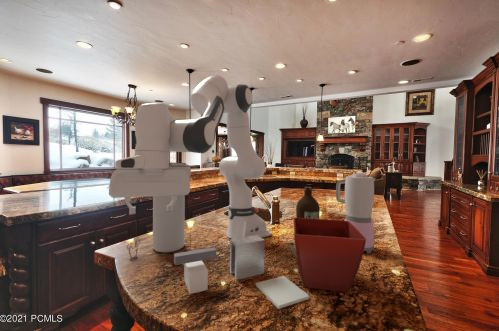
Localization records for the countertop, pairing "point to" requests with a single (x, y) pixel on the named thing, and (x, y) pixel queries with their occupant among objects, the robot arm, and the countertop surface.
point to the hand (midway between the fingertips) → (151, 212)
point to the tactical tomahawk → (292, 248)
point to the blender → (359, 205)
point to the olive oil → (307, 206)
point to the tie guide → (247, 256)
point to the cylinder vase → (168, 224)
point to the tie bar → (194, 256)
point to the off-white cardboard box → (196, 276)
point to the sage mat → (282, 291)
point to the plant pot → (328, 253)
